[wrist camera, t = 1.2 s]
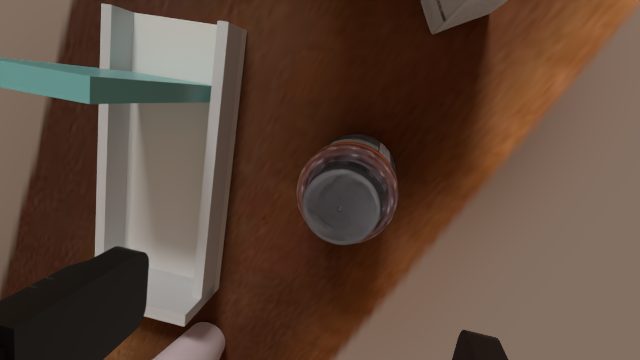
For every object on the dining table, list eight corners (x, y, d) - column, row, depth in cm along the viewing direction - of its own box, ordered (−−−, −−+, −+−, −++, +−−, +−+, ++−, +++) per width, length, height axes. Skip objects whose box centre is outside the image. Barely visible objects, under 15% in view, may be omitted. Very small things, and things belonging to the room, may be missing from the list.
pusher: (134, 71, 30) (-46, 52, 18) (218, 86, 29) (89, 76, 17) (134, 87, 30) (-45, 79, 18) (216, 102, 29) (89, 103, 17)
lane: (133, 14, 30) (73, -6, 25) (247, 31, 29) (212, 14, 23) (122, 264, 36) (70, 296, 30) (218, 288, 34) (184, 326, 28)
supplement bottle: (378, 217, 30) (373, 283, 20) (309, 190, 31) (267, 240, 20) (408, 147, 29) (420, 177, 18) (334, 120, 29) (303, 133, 19)
